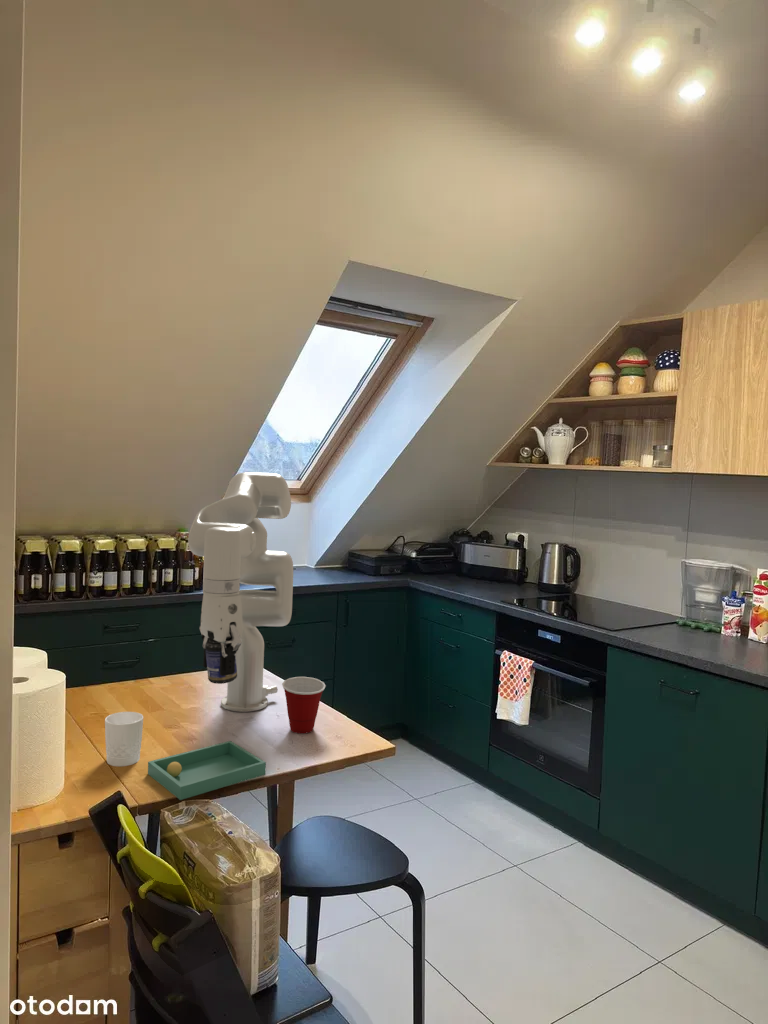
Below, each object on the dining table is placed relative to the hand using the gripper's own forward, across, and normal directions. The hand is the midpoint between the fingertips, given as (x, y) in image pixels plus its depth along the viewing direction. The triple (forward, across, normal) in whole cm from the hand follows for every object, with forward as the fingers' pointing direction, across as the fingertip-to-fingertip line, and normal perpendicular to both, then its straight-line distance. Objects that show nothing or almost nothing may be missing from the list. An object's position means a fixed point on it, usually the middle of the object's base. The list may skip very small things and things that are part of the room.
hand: (218, 669), depth 154 cm
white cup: (+23, +17, +13) cm, 31 cm away
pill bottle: (+2, 0, -1) cm, 3 cm away
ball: (+22, +3, +8) cm, 24 cm away
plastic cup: (+23, +10, -30) cm, 39 cm away
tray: (+23, 0, +2) cm, 23 cm away
